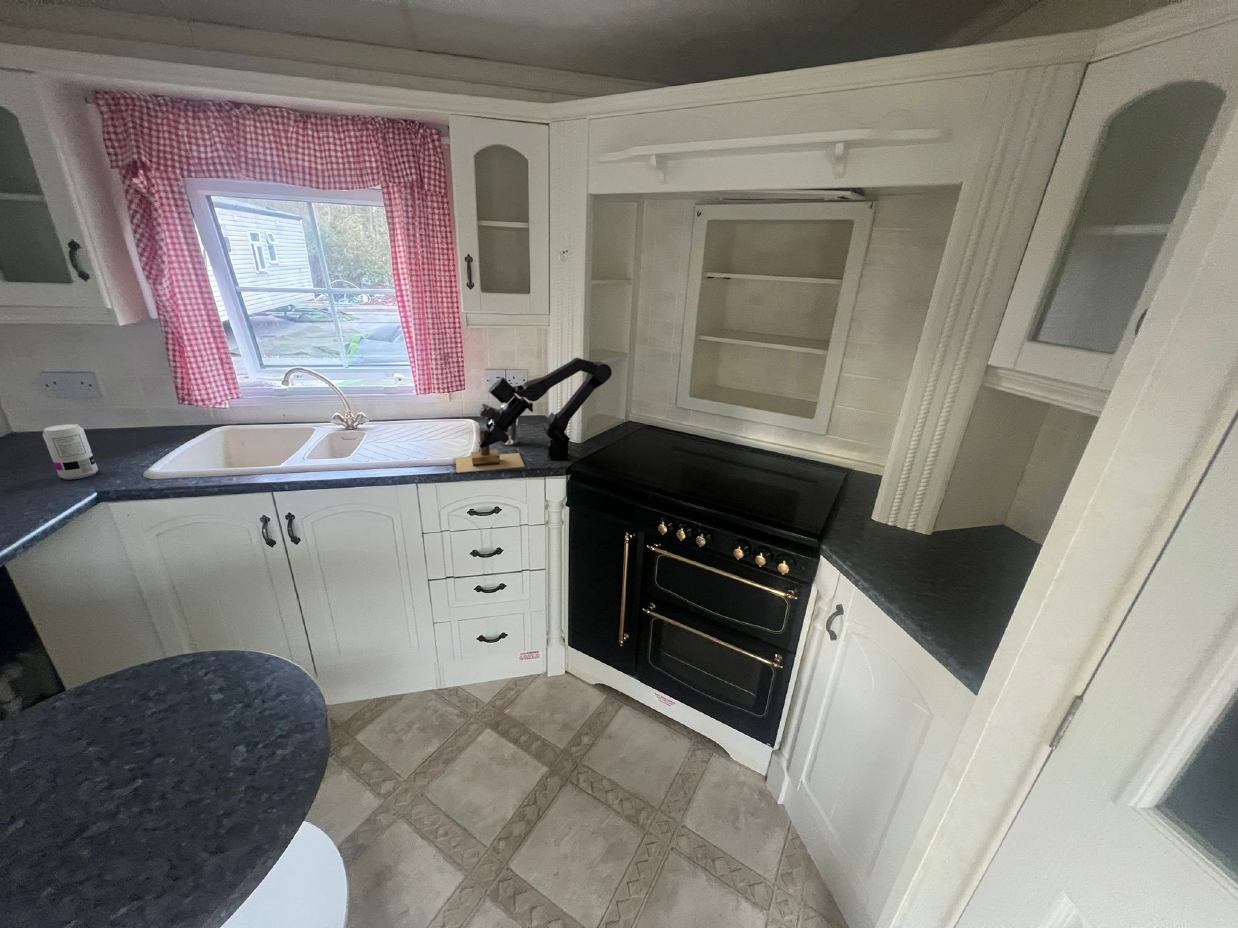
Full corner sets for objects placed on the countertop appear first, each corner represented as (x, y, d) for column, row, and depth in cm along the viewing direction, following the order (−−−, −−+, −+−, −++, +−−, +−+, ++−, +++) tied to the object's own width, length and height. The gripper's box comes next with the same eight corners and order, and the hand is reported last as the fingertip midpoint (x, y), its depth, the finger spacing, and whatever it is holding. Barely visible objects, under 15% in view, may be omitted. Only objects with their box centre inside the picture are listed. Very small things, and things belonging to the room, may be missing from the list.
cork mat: (518, 453, 179) (518, 452, 179) (524, 467, 167) (524, 466, 167) (455, 458, 172) (455, 457, 172) (456, 473, 160) (456, 472, 160)
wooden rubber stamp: (498, 458, 173) (496, 426, 168) (500, 464, 167) (497, 431, 163) (471, 460, 170) (468, 428, 166) (472, 466, 165) (469, 433, 160)
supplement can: (51, 480, 144) (31, 431, 139) (75, 470, 152) (57, 423, 146) (83, 479, 145) (65, 431, 140) (106, 469, 153) (89, 423, 148)
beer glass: (521, 441, 193) (520, 403, 187) (516, 446, 186) (514, 408, 181) (504, 439, 193) (502, 402, 188) (498, 445, 187) (496, 406, 181)
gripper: (490, 390, 170) (459, 422, 170) (496, 402, 153) (462, 439, 154) (514, 411, 175) (484, 442, 176) (522, 425, 159) (489, 460, 159)
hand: (479, 445), depth 166 cm, fingers closed on wooden rubber stamp, 3 cm apart
